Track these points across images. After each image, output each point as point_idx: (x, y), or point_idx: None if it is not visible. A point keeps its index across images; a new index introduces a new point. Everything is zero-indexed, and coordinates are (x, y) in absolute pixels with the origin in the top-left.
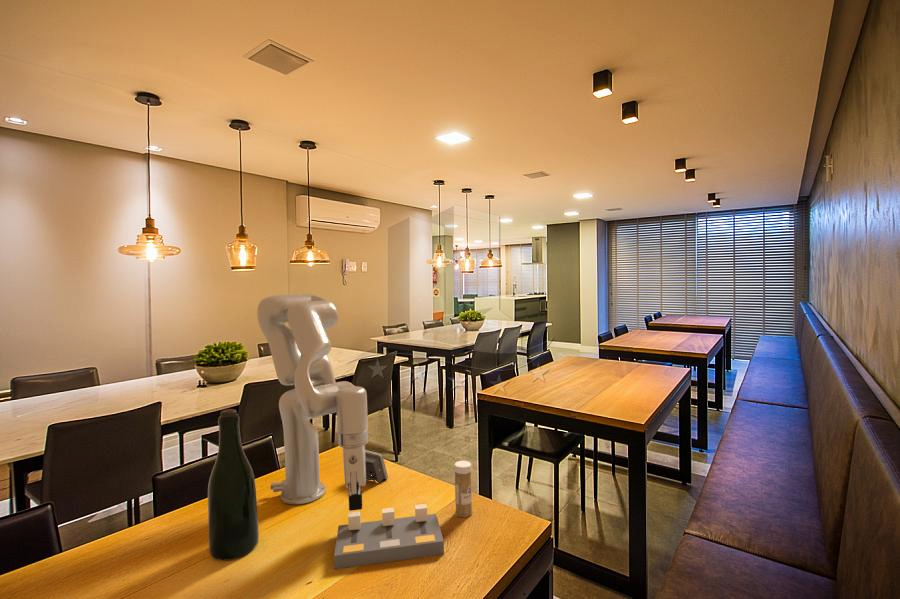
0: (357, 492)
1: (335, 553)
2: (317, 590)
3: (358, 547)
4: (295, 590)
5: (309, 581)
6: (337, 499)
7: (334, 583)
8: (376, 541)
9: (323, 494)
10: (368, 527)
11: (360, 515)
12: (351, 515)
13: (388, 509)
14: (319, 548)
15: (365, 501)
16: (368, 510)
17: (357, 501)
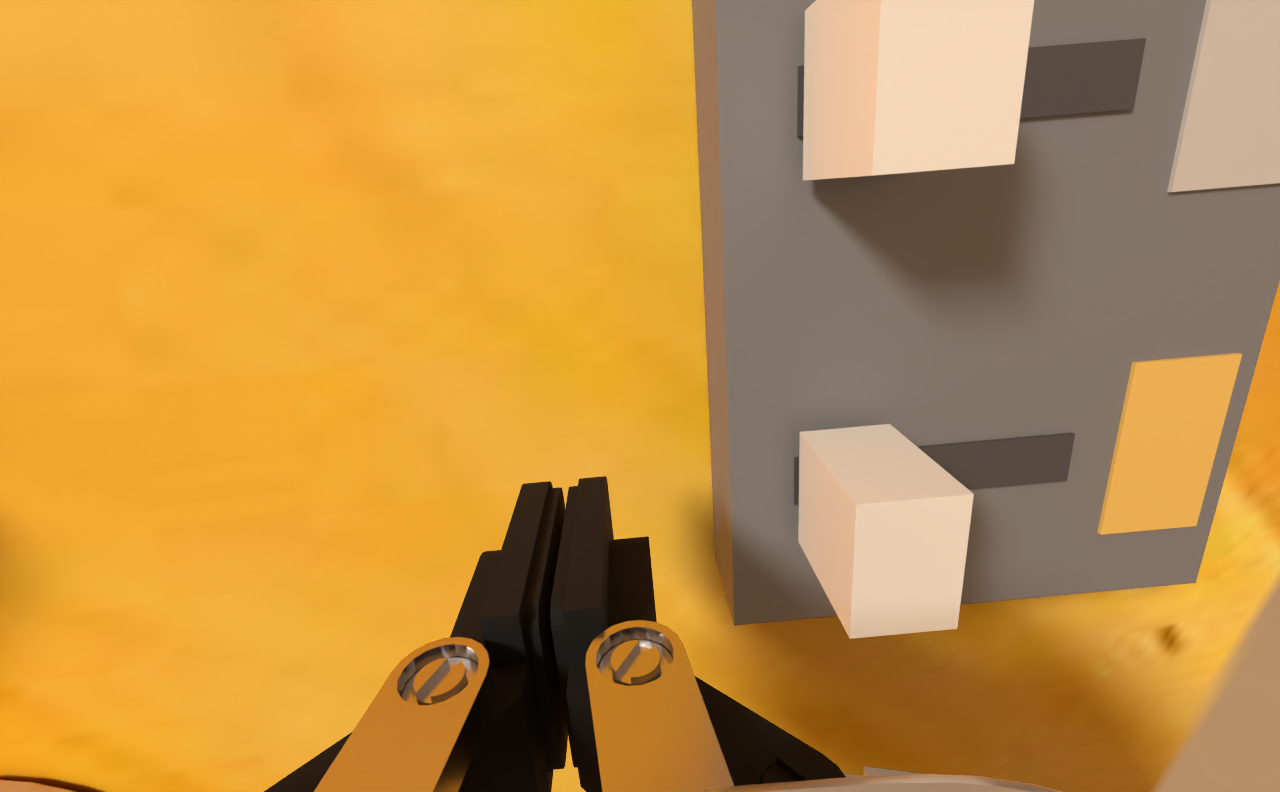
0: (783, 737)
1: (1167, 578)
2: (1267, 581)
3: (1181, 405)
4: (1206, 689)
5: (1159, 639)
6: (90, 664)
7: (1251, 498)
8: (1141, 231)
9: (31, 784)
10: (841, 343)
11: (873, 482)
12: (929, 598)
13: (926, 49)
14: (824, 654)
15: (91, 417)
16: (277, 369)
17: (650, 592)
